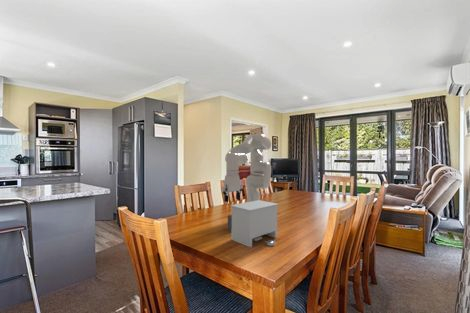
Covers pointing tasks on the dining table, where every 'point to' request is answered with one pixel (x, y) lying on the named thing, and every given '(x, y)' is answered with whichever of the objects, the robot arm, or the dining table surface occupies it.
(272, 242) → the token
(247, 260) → the dining table surface
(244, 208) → the cabinet
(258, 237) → the blade tool
